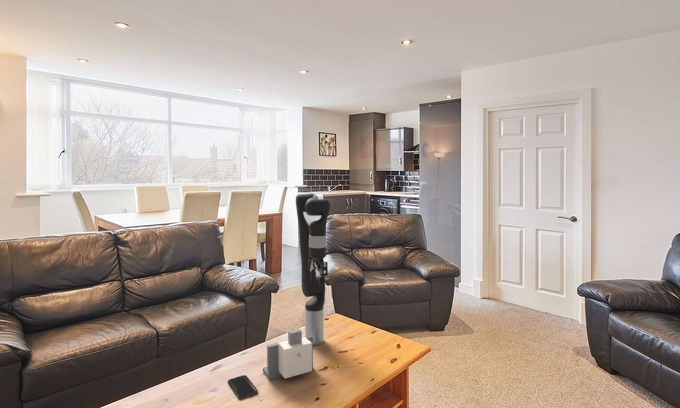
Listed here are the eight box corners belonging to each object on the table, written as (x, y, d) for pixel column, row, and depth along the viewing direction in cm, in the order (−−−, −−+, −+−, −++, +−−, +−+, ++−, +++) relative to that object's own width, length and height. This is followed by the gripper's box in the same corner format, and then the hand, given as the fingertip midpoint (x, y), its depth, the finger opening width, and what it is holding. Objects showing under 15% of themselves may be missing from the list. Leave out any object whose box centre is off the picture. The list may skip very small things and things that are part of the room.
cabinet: (278, 370, 155) (278, 331, 154) (304, 363, 161) (304, 325, 160) (285, 379, 148) (285, 338, 147) (312, 372, 154) (312, 332, 153)
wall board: (262, 371, 160) (262, 339, 159) (305, 359, 170) (305, 330, 169) (272, 385, 150) (272, 351, 148) (317, 372, 159) (317, 340, 158)
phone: (245, 374, 156) (258, 391, 144) (245, 377, 156) (258, 394, 144) (226, 380, 152) (238, 398, 139) (226, 382, 152) (238, 401, 140)
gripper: (333, 247, 155) (333, 285, 156) (318, 242, 167) (318, 277, 169) (317, 249, 151) (317, 288, 153) (302, 243, 164) (302, 279, 165)
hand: (317, 282), depth 161 cm, fingers open, 8 cm apart
